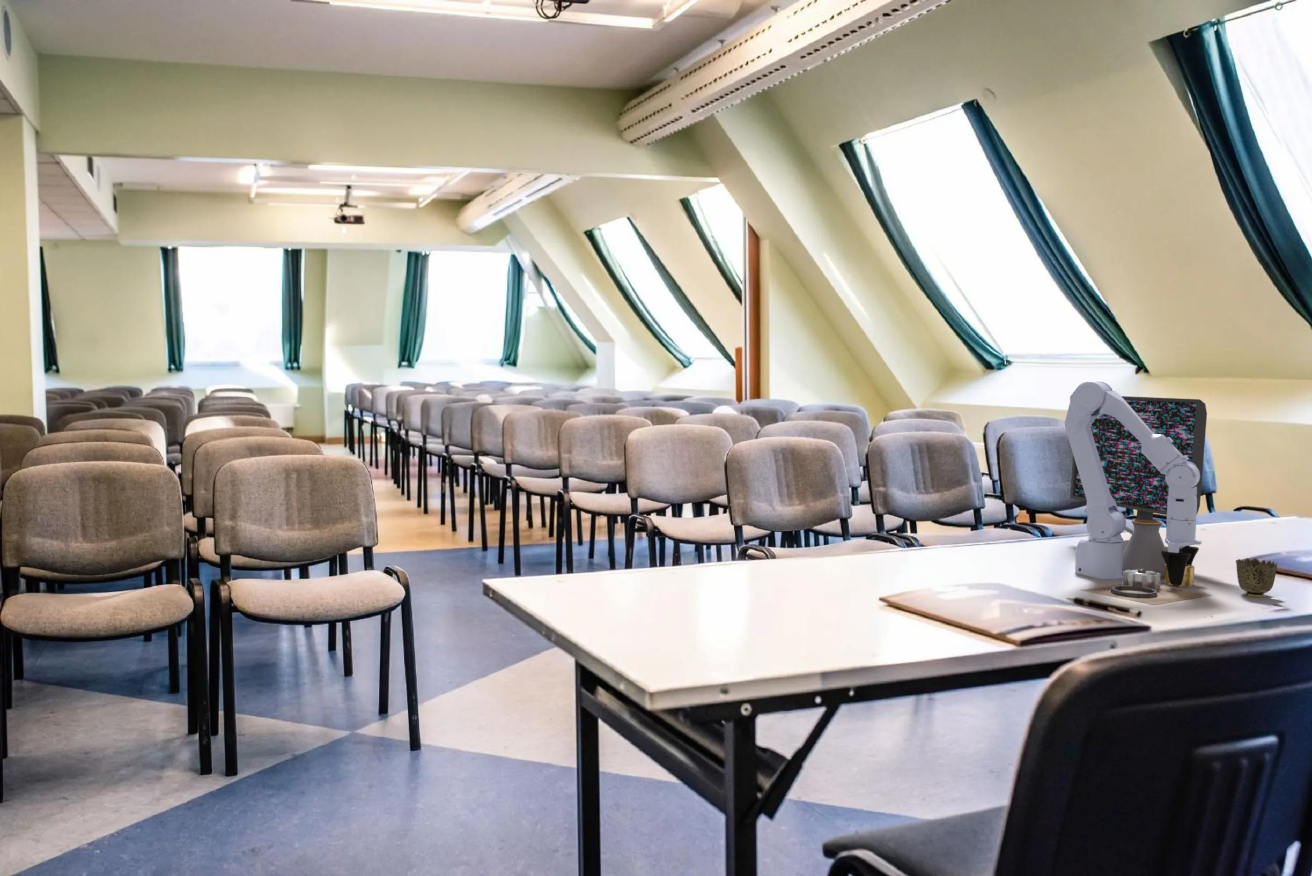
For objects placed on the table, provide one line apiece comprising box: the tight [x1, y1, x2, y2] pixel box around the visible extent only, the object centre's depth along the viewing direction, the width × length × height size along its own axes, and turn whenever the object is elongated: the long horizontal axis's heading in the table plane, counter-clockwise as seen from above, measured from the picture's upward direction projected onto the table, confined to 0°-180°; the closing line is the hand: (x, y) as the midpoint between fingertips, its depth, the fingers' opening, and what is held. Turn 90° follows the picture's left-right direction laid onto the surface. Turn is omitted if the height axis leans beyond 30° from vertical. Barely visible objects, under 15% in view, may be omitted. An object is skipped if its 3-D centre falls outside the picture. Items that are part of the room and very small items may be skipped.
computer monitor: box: [1069, 395, 1208, 551], centre depth 286 cm, size 44×16×40 cm, turn 17°
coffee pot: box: [1084, 508, 1166, 579], centre depth 258 cm, size 21×12×15 cm, turn 33°
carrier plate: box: [1081, 583, 1213, 606], centre depth 233 cm, size 17×19×1 cm
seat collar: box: [1111, 586, 1157, 598], centre depth 231 cm, size 9×9×1 cm
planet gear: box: [1163, 564, 1195, 588], centre depth 242 cm, size 6×6×5 cm
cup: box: [1235, 557, 1278, 598], centre depth 231 cm, size 8×7×8 cm
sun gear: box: [1122, 569, 1161, 590], centre depth 239 cm, size 7×7×4 cm
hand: (1178, 581), depth 242 cm, fingers closed on planet gear, 6 cm apart
